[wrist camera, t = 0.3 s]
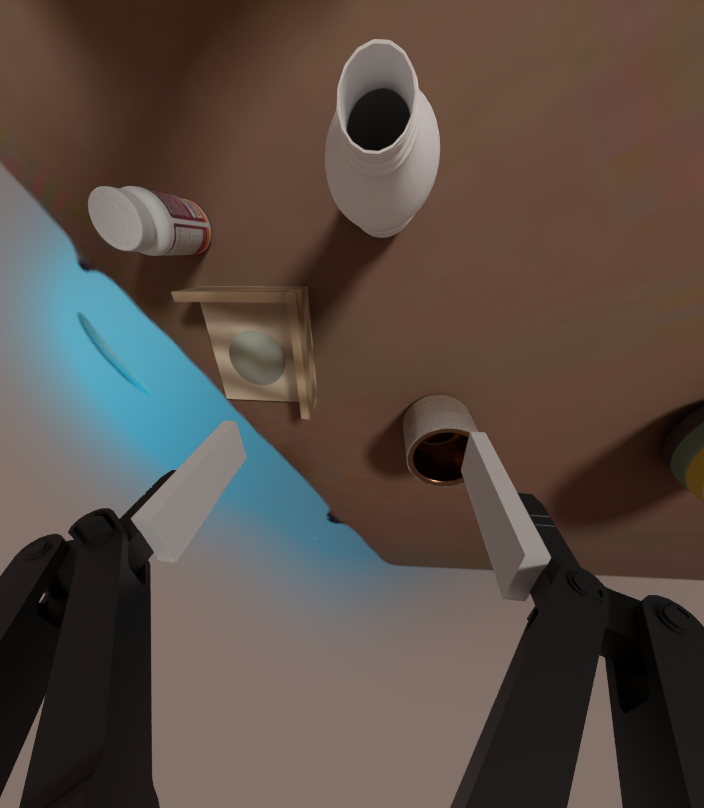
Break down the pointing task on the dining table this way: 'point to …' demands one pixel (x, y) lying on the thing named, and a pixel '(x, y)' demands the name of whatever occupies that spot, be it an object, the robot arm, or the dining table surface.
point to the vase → (687, 452)
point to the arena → (260, 341)
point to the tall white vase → (381, 141)
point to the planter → (437, 439)
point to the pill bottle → (149, 221)
